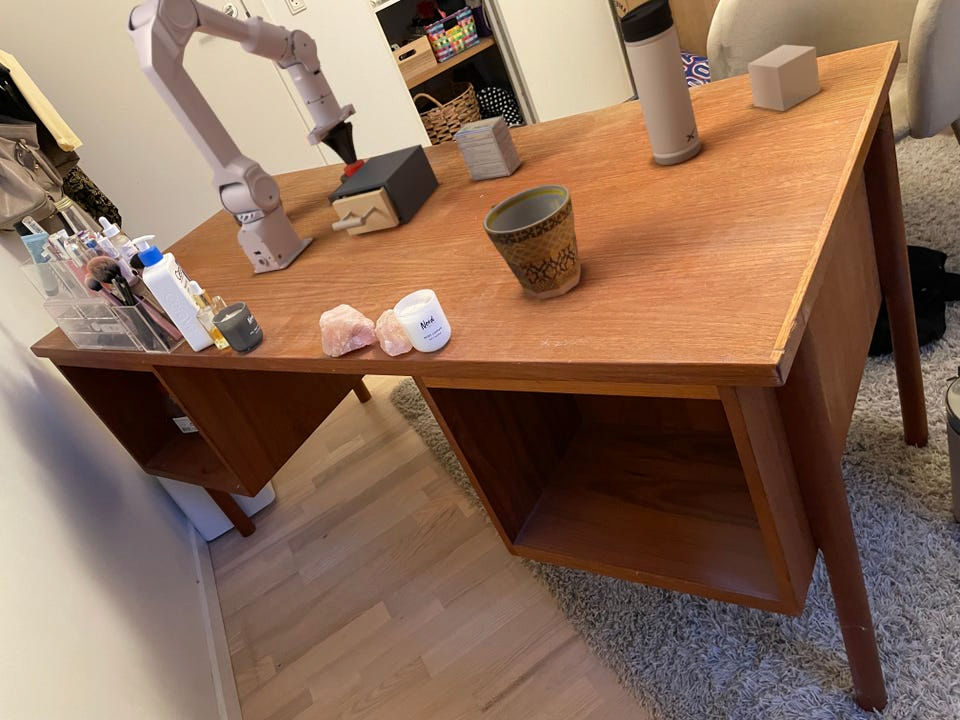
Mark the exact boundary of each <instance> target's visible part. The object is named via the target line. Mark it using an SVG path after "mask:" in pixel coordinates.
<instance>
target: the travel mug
mask: <svg viewBox="0 0 960 720" xmlns="http://www.w3.org/2000/svg"><path fill="white" fill-rule="evenodd" d="M672 15H673V13H672V9H671V6H670V2H669V0H646V1H645V2H643V3H641V4H638V5H637V6H636V7H634V8H632V9H630V10H629V11H628V12H627V13H626V14H624V15H623V16H622V17H621V19H620V23H619V24H620V29H621V32H622V34H623V36H622V37H623V42H624V45H625V49H626V53H627V58H628V62H629V66H630V70H631V74H632V78H633V81H634V85H635V89H636V92H637V96H638V100H639V104H640V108H641V112H642V115H643V119H644V124H645V127H646V131H647V135H648V139H649V144H650V147H651V151H652V154H653V159H654V162H655V163H656V164H658V165H661V166H673V165H677V164H681V163H683V162H687V161H689V160H691V159H692V158H693V157H695V156H696V155H697V154H698V153H699V152H700V151H701V149H702V145H701V139H700V137H699V131H698V125H697V121H696V116H695V112H694V108H693V103H692V99H691V98H692V97H691V94H690V88H689V85H688V79H687V75H686V70H685V66H684V62H683V55H682V52H681V46H680V43H679V37H678V34H677V29H676V28H675V27H676V24H675V22H674V17H673V16H672Z"/></svg>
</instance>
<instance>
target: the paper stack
mask: <svg viewBox="0 0 960 720" xmlns="http://www.w3.org/2000/svg"><path fill="white" fill-rule="evenodd" d="M453 137H454V139H455V141H456V143H457V146H458V148H459V151H460V153H461V155H462V158H463V160H464V163H465V165H466V167H467V169H468V171H469V174H470V177H471V178H472V180H473V181H474V182H475V181H482V180H488V179H496V178H501V177H507V176H509V177H510V176H511V175H513V174H514V172H515V171H516V170H517V169H518V168H519V167H520V166H521V164H522V160H521V157H520V155H519V153H518V150H517V148H516V144H515V142H514V139H513V137H512V134H511V132H510V129H509V127H508V125H507V122H506V119H505V117H504V116H503V115H500V116H495V117H490V118H486V119H480V120H477V121H473V122H468V123H466V124H464V125H463V126H462V127H461V128H459V130H458V131H457V132H456V133H455V134H454V135H453Z"/></svg>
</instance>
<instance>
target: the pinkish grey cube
mask: <svg viewBox="0 0 960 720" xmlns="http://www.w3.org/2000/svg"><path fill="white" fill-rule="evenodd" d="M817 57H818V56H817V48H816V46H807V45H794V44H793V45H791V44H782V45H780V46H779V47H777V48H775V49H773V50H771V51H769V52H767V53H766V54H764V55H762V56H760V57H758V58H757V59H754V60H753V61H751V62H749V63H747V71H748V76H749V77H748V78H749V82H750V87H751V95H752V101H753V106H754V107H757V108H758V107H759V108H764V109H769V110H774V111H779V112H785V111H787V110H790V109H791V108H792V107H794V106H796V105H798V104H799V103H802V102H803V101H805V100H807V99H809V98H811V97H813V96H814V95H816V94H818V93H820V92H821V85H820V75H819V67H818V58H817Z"/></svg>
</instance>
